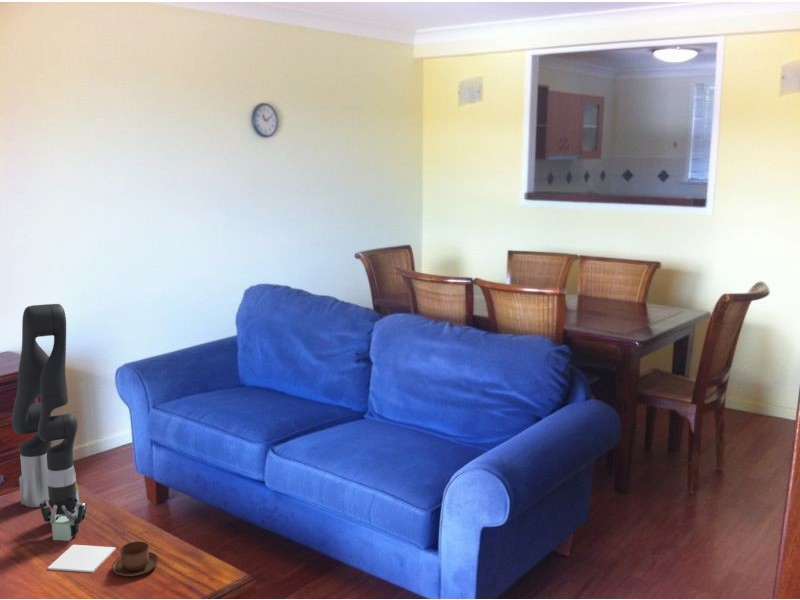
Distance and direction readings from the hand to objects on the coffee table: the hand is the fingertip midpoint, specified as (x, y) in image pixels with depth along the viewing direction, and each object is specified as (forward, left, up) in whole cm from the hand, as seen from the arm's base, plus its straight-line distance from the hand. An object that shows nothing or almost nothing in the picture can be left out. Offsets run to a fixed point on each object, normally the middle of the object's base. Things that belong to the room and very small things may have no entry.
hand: (65, 534), depth 225 cm
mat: (+12, -12, 0) cm, 17 cm away
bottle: (-5, +10, -1) cm, 11 cm away
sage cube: (0, 0, 0) cm, 0 cm away
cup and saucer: (+29, -15, -1) cm, 32 cm away
